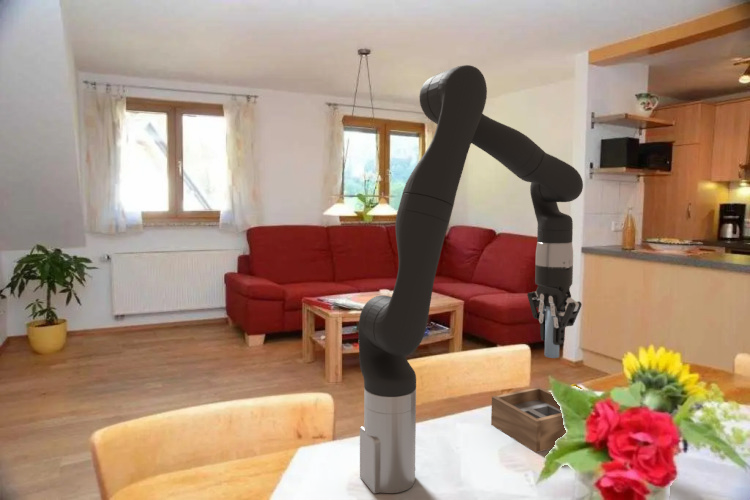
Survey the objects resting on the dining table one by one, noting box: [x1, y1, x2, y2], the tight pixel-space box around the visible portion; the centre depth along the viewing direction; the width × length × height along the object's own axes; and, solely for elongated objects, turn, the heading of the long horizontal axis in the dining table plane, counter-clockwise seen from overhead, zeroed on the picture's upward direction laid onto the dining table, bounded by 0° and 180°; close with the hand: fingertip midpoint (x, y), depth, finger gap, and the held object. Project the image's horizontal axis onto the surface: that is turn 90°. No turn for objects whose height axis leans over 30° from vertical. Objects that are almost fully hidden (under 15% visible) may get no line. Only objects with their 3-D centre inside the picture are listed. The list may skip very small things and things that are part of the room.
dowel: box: [544, 306, 561, 359], centre depth 108 cm, size 3×3×11 cm
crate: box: [490, 386, 566, 454], centre depth 109 cm, size 14×14×6 cm
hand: (552, 341), depth 108 cm, fingers closed on dowel, 3 cm apart
